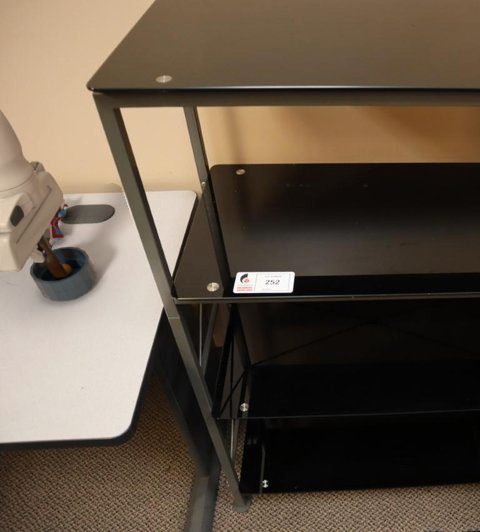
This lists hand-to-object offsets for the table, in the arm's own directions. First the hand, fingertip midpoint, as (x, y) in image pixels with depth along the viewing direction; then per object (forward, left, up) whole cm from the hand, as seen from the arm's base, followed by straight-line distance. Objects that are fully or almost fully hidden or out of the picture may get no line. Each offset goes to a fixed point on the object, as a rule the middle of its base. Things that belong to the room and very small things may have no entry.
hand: (45, 252), depth 93 cm
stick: (+1, 0, -7) cm, 7 cm away
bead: (0, +2, -7) cm, 7 cm away
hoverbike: (-7, +17, -9) cm, 20 cm away
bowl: (+1, 0, -9) cm, 9 cm away
